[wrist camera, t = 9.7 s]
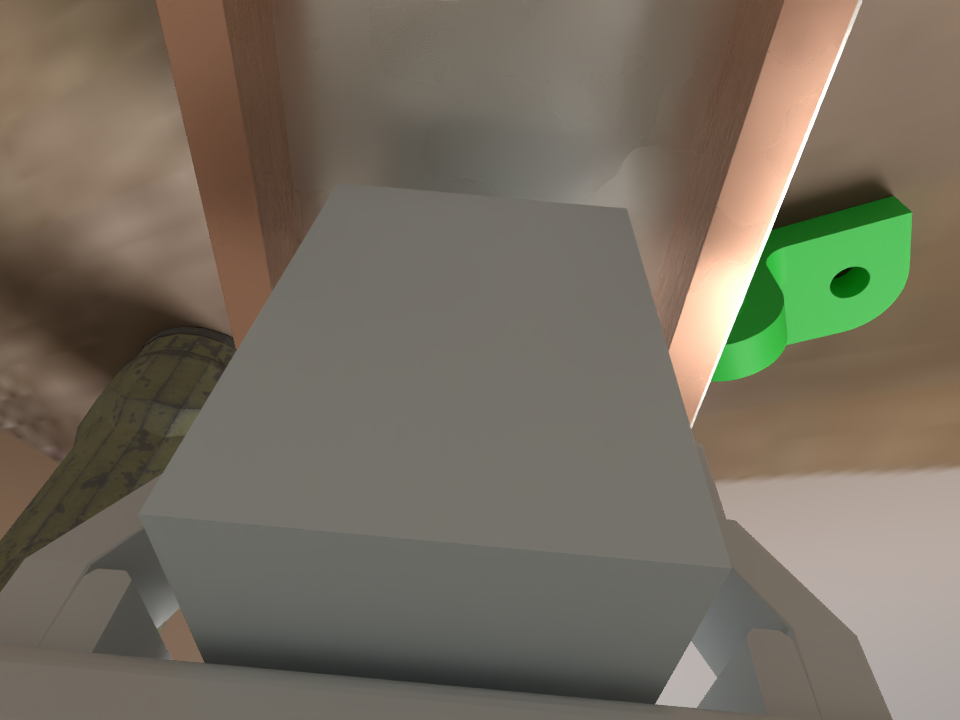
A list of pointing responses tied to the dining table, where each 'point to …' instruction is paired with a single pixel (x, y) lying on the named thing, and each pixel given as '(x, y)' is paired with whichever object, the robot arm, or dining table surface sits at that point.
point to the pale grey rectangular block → (448, 460)
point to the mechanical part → (819, 282)
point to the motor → (510, 126)
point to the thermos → (123, 437)
